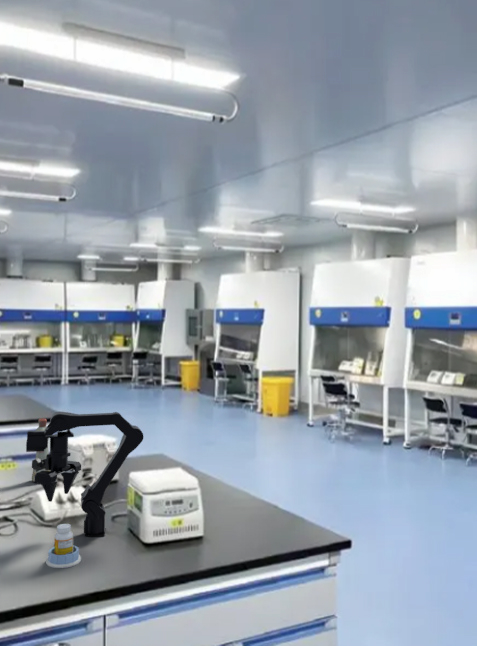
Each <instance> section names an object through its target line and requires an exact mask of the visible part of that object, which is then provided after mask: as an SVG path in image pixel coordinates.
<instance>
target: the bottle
mask: <svg viewBox="0 0 477 646" xmlns="http://www.w3.org/2000/svg"><path fill="white" fill-rule="evenodd" d="M47 423H48V422H47V419H46V418H43V417H42V418H39V419H38V427H37V428H36V429H35V430H34V431H45V429H46V427H47V426H48V425H47ZM48 441H50V438H48ZM47 454H50V450H49V447H48V448H46V449H44V451H39V452H35V459H38V458H39V459H40V460H43V459H46V456H47ZM35 459H34V460H35ZM40 471H50V470H45V469H42V470H39V471H37V472H36V470H34V469H33V468H32V474H31V481H32V482H34V475H35V474H36V473H38V472H40ZM34 483H35V482H34Z"/></svg>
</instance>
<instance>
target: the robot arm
mask: <svg viewBox="0 0 477 646" xmlns="http://www.w3.org/2000/svg"><path fill="white" fill-rule="evenodd" d="M49 421H50V422H49V423H48V424H47V425H46V426H47V427H46V429H45V431H35V430H27V432H26V434H27V436H26V444H25V446H26V447H25V448H26V450H25V451H26V453H31V452H34V453H36V452H39V451H44V449H46V448H48V449H49V454H47V456H46V459H43V460H40V459H39V458H38V459H33V460H31V469H32V470H33V469H34V470H36V472H37V471H39V470H42V469H45V470H50V471H40V472H38V473H36V474H35V475H34V483H36V484H39V485H41V486H42V488H43V491H44V493H45V495H46V498H47V502H53V499H54V496H55V492H56V489H57V485H58V481H57V480H58V475H61V476H62V479H63V480H62V481H63V492H64V494H65V495H68V494H69V492H70V489H71V488H72V486H73V484H74V482H75V480H76V478H77V476H78V475H79V474H80V471H82V464H81V462H80V461H76V460H69V459H68V458H69V457H70V456H71V452H69V438H73V437H75V434H74V432H72V431H71V430H73V429H76V428H79V427H97V426H112V425H113V426H115V427H116V428H117V429H118V430H119V431H120V432H121V433H122V437H121V439H120V443H119V444H118V448H116V451H115V452H114V453H113V455H112V456H111V458H110V460H109V461H108V463H107V464H106V466H105V468H104V469H103V471H102V472H101V474H100V475H99V476H98V478H97V480H96V481H95V482H94V483H93V484H92V485H89V484H86V487H85V489H84V491H82V493H80V496H81V498H80V506H81V509H82V511H83V512H84V513H85V514H86V515H85V518H84V520H83V534H84V537H104V536H106V532H107V527H106V516H107V515H106V510H105V505H104V504H103V503H102V500H103V498H104V495H105V492H106V491H107V489H108V487H109V485H110V483H111V482H112V481H113V479H114V478H115V476H116V475H117V473H118V472H119V470H120V468H121V467H122V465H123V464H124V462H125V460H126V459H127V458H128V456H129V455H130V454H131V453H132V452H133V451H135V450H136V449H137V448H138V447H139V445H141V443H142V442H143V440H144V433H143V431H142V430H141V429H140V428H139V426H138V425H137V426H136V425H132V423H130V422H129V421H127V419H126V418H125V417H123V415H121V413H120V412H117V411H113V412H105V413H100V412H99V413H80V414H79V413H74V412H73V413H72V412H69V411H55V412H53V414H52V415H51V416H50V420H49ZM48 438H49V440H48ZM48 444H49V445H48Z"/></svg>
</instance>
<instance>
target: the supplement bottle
mask: <svg viewBox="0 0 477 646" xmlns="http://www.w3.org/2000/svg"><path fill="white" fill-rule="evenodd" d="M71 526H72V525H71V524H69V523H60V524H58V525H57V526H56V533H54V546H53V547H54V554H56V555H67V554H71V553H73V545H74V534H73V531H72V527H71Z"/></svg>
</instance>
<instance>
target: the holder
mask: <svg viewBox="0 0 477 646" xmlns="http://www.w3.org/2000/svg"><path fill="white" fill-rule="evenodd" d="M81 561H82V555H80V547H78V546H76V545H74V544H73V553H71V554H67V555H56V554H54V546H53V547H51V548H50V549H49V550H48V553H47V557H46V560H45V562H46V563H45V564H46V566H48V567H49V568H54V569H66V568H67V569H68V568H71V567H75V566H76V565H78V564H80V563H81Z"/></svg>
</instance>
